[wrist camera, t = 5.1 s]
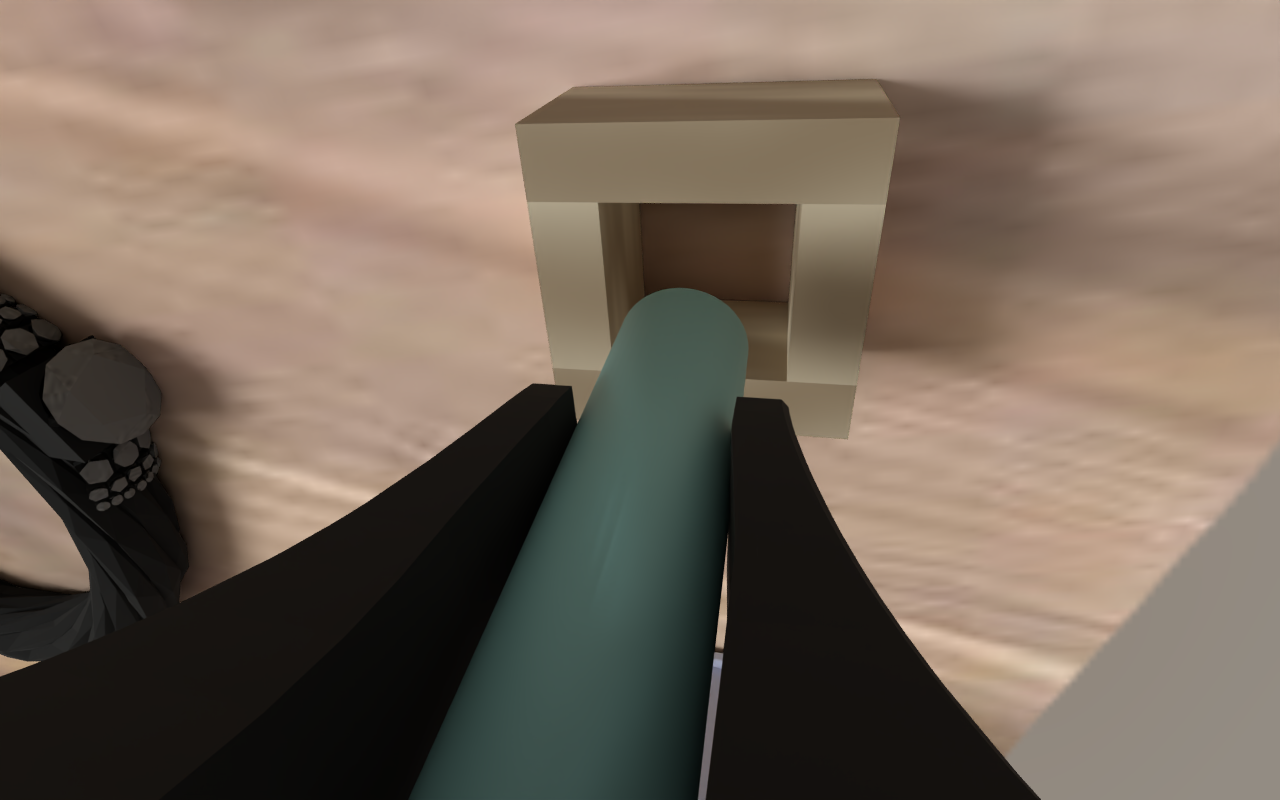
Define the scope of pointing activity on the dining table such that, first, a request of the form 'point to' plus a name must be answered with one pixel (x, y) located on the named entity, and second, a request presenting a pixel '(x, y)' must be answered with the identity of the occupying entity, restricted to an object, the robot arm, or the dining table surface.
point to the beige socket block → (715, 173)
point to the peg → (612, 584)
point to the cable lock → (86, 483)
